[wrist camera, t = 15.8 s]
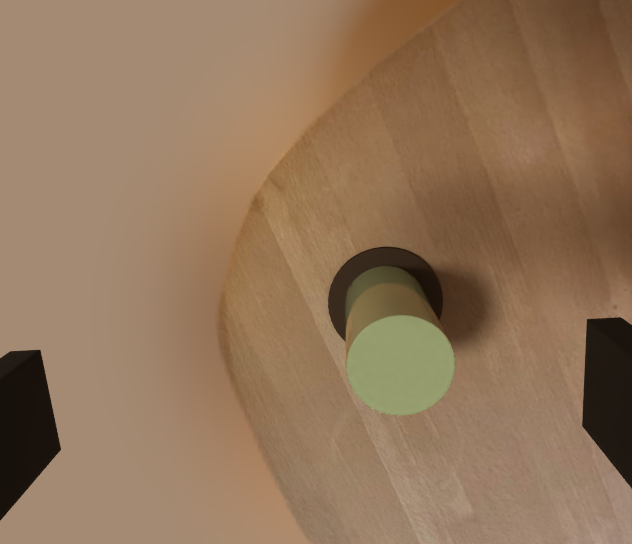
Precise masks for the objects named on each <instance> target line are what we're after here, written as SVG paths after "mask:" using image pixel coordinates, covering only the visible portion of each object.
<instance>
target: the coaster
mask: <svg viewBox="0 0 632 544" xmlns="http://www.w3.org/2000/svg"><path fill="white" fill-rule="evenodd" d="M381 266H392V267H397V268H400V269H403V270H405V271H407V272H408V273H410V274H411V275H413V276H414V277H415V278H416V279H417V280H418V282H419V283H420V285H421V286H422V288H423V290H424V292H425V294H426V296H427V298H428V300H429V302H430V304H431V306H432V308H433V310H434V312H435V314H436V316H437V318H438V320H439V319H440V316H441V311H442V302H443V299H442V291H441V287H440V284H439V281H438V279H437V277H436V275H435V274H434V272H433V271H432V269H431V268H430V267H429V266H428V265H427V264H426V263H425V262H424V261H423V260H422V259H421V258H419V257H418V256H416V255H415V254H413V253H411V252H408V251H406V250H403V249H399V248H393V247H380V248H373V249H369V250H366V251H364V252H361V253H359V254H357V255H356V256H354V257H353V258H351V259H350V260H348V261H347V262H346V263H345V264H344V265H343V266H342V267H341V269H340V270H339V271H338V273H337V274H336V276H335V278H334V280H333V282H332V284H331V288H330V291H329V298H328V307H329V314H330V318H331V321H332V323H333V326H334V328H335V329H336V331H337V333H338V334H339V335H340V336H341V338H342V339H343V340H344V341H345V342H346V336H345V298H346V294H347V292H348V289H349V287H350V286H351V284H352V283H353V281H354V280H355V279H356V278H357V277H358V276H359V275H361V274H362V273H364V272H365V271H367V270H369V269H372V268H375V267H381Z"/></svg>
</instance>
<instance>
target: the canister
mask: <svg viewBox="0 0 632 544" xmlns="http://www.w3.org/2000/svg"><path fill="white" fill-rule="evenodd" d="M345 336H346V370H347V376H348V380H349V383H350V385H351V387H352V389H353V391H354V392H355V394H356V395H357V396H358V397H359V399H360V400H362V401H363V402H364V403H365V404H366V405H368V406H369V407H371V408H373V409H374V410H376V411H379V412H382V413H385V414H389V415H410V414H415V413H418V412H421V411H423V410H425V409H427V408H429V407H431V406H432V405H434V404H435V403H436V402H438V401H439V400H440V399H441V398H442V397H443V395H444V394H445V393H446V391H447V390H448V388H449V386H450V384H451V382H452V380H453V377H454V372H455V356H454V352H453V349H452V346H451V344H450V342H449V340H448V338H447V336H446V334H445V332H444V330H443V328H442V326H441V324H440V322H439V320H438V318H437V316H436V314H435V312H434V310H433V308H432V306H431V304H430V302H429V300H428V298H427V296H426V294H425V292H424V290H423V288H422V286H421V285H420V283H419V282H418V280H417V279H416V278H415V277H414V276H413V275H411V274H410V273H408V272H407V271H405V270H403V269H400V268H397V267H392V266H381V267H375V268H372V269H369V270H367V271H365V272H364V273H362V274H361V275H359V276H358V277H357V278H356V279H355V280H354V281H353V283H352V284H351V286H350V287H349V289H348V292H347V294H346V298H345Z"/></svg>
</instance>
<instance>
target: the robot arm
mask: <svg viewBox="0 0 632 544" xmlns="http://www.w3.org/2000/svg"><path fill="white" fill-rule="evenodd" d="M582 426H583V428H584V429H585V430H586V431H587V433H588V434H589V435H590V436H591V438H592V439H593V440H594V441H595V443H596V444H597V445H598V446H599V448H600V449H601V450H602V451H603V453H604V454H605V455H606V456H607V458H608V459H609V460H610V462H611V463H612V464H613V465H614V467H615V468H616V469H617V470H618V472H619V473H620V474H621V475H622V477H623V478H624V479H625V480H626V482H627V483H628V484H629V485H630V487H631V488H632V325H631V324H630V323H628V322H627V321H625V320H624V319H622V318H621V317H619V318H602V319H587V331H586V354H585V376H584V399H583V422H582ZM60 450H61V448H60V443H59V438H58V433H57V428H56V423H55V418H54V414H53V409H52V404H51V399H50V394H49V389H48V385H47V380H46V375H45V370H44V365H43V360H42V356H41V351H40V350H29V351H11V352H9V353H7V354H6V355H4V356H3V357H2V358H0V520H1V519H2V518H3V517H4V516H5V515H6V513H7V512H8V511H9V510H10V509H11V507H12V506H13V505H14V504H15V503H16V502H17V500H18V499H19V498H20V497H21V496H22V495H23V493H24V492H25V491H26V490H27V489H28V488H29V486H30V485H31V484H32V483H33V482H34V481H35V479H36V478H37V477H38V476H39V475H40V474H41V472H42V471H43V470H44V469H45V468H46V467H47V465H48V464H49V463H50V462H51V461H52V459H53V458H54V457H55V456H56V455H57V454H58V452H59V451H60Z"/></svg>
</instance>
